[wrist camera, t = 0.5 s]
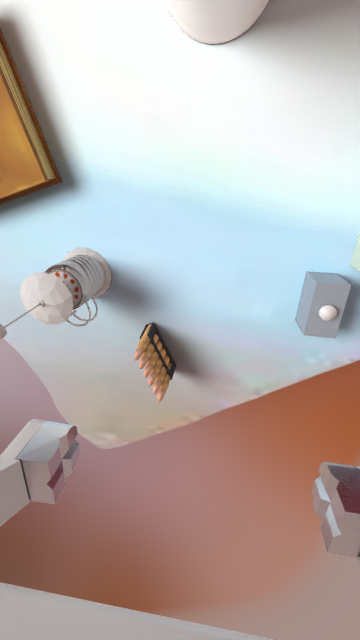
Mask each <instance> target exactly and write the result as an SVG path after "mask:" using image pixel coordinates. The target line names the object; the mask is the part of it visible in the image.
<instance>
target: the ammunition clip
mask: <svg viewBox="0 0 360 640" xmlns="http://www.w3.org/2000/svg"><path fill="white" fill-rule="evenodd" d="M141 356H142V357H141ZM140 357H141V360H140V363H139V368H140V369H142V368H143V367H144V366H145V365H146V367H145V370H144V377H145V378H146V377H147V376H148V375H149V374H150V376H149V381H148V382H149V386H151V385H152V384H153V383H154V386H153V393H154V394H156V393H157V392H158V390H159V392H158V402H160V401H161V400H162V399H163V397H164V395H165V392H166V390H167V388H168V385H169V381H170V380H172V377H173V374H174V371H175V367H176V365H175V363H174V361H173V359H172V357H171V355H170V353H169V351H168V349H167V347H166V345H165V343H164V341H163V339H162V337H161V335H160V333H159V331H158V329H157V327H156V325H155V323H150V324H148V325H146V326H145V328H144V330H143V332H142V334H141V336H140V342H139V344H138V347H137V350H136V352H135V356H134V359H135V360H138V359H139V358H140ZM150 372H151V373H150ZM170 378H171V379H170ZM154 381H155V382H154Z"/></svg>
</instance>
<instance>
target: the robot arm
mask: <svg viewBox="0 0 360 640" xmlns="http://www.w3.org/2000/svg"><path fill="white" fill-rule="evenodd" d="M269 1H270V0H164V2H165V4H166V7H167V9H168V11H169V13H170V15H171V17H172V18H173V20H174V22H175V23H176V24H177V26H178V27H179V28H180V29H181V30H182V31H183V32H184V33H185V34H187V35H188V36H189V37H191V38H193V39H195V40H197V41H200V42H203V43H208V44H217V43H223V42H227V41H230V40H232V39H234V38H236V37H238V36H239V35H241V34H242V33H244V32H245V31H246V30H247V29H249V28H250V27H251V26H252V25H253V24H254V22H255V21H256V20H257V19H258V18H259V16H260V15H261V13H262V12H263V10H264V9H265V7H266V5H267V4H268V2H269ZM77 434H78V433H77V427H76V426H73V425H67V424H62V423H56V422H50V421H43V420H37V419H33V420H31V421H29V422H28V423H27V425H26V426H25V427H24V428H23V429H22V430H21V432H20V433H19V434H18V435H17V436H16V438H15V439H14V440H13V441H12V443H11V444H10V445H9V446H8V447H7V448H6V450H5V451H4V452H3V453H2V454H1V455H0V526H1V525H2V524H3V523H5V522H6V521H7V520H8V519H10V518H11V517H12V516H13V515H15V514H16V513H17V512H18V511H19V510H21V509H22V508H23V507H24V506H26V505H27V504H28V503H29V500H30V501H38V502H44V503H51V504H56V501H57V500H58V498H59V496H60V494H61V492H62V491H63V489H64V487H65V485H66V484H65V477H66V476H68V475H70V474H71V473H72V472H73V470H74V468H75V466H76V463H77V460H78V456H79V443H78V442H77V441H76V440H75V438H76V436H77ZM319 473H320V476H321V477H319V478H317V479H316V480H315V482H314V485H313V503H314V507H315V511H316V513H317V514H318V515H319V517H320V518H321V519H322V520H323V522H322V525H321V527H320V529H321V532H322V536H323V539H324V542H325V545H326V549H327V552H331V553H335V554H340V555H345V556H350V557H355V558H359V559H358V560H359V562H360V467H356V466H350V465H343V464H335V463H328V462H323V463H322V464H321V465H320V468H319ZM0 640H275V639H270V638H266V637H261V636H255V635H251V634H246V633H241V632H236V631H232V630H227V629H222V628H217V627H212V626H207V625H203V624H198V623H193V622H188V621H184V620H179V619H174V618H169V617H164V616H159V615H154V614H150V613H145V612H140V611H135V610H131V609H125V608H121V607H116V606H111V605H106V604H101V603H96V602H91V601H87V600H82V599H77V598H73V597H67V596H63V595H58V594H53V593H48V592H43V591H38V590H34V589H29V588H24V587H19V586H15V585H10V584H5V583H0Z"/></svg>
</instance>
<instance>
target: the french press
mask: <svg viewBox="0 0 360 640" xmlns="http://www.w3.org/2000/svg"><path fill="white" fill-rule="evenodd" d="M111 280H112V278H111V271H110V268H109V266H108V264H107V262H106V260H105V259H104V258H103V257H102V256H101V255H100V254H99V253H97V252H96V251H93V250H91V249H88V248H76V249H74V250H72V251H70V252H68V253H67V255H66V256H65V258H64V259H63V261H62V262H60V263H58V264H55V265H53V266H52V267H50V268H48V270H47V271H46V272H44V273H34V274H32V275H30V276H28V277H26V279H25V280H24V281H23V283H22V284H21V290H20V295H21V299H22V303H23V305H24V307H25V308H26V310H27V312H25V313H24V314H22V315H21V316H19V317H18V318H16V319H15V320H13V321H12V322H10V323H8V324H7V325H5V326H2V325H1V324H0V339H1V338H3V337H5V336H6V333H7V332H6V329H5V327H7V326H9V325H10V324H12V323H13V322H15V321H16V320H18V319H19V318H21V317H22V316H24V315H25V314H27V313H29V314H30V315H32V316H33V317H34V318H35V319H36V320H38V321H40V322H43V323H45V324H54V325H57V324H60V323H62V322H65V321H67V322H69V323H70V324H72V325H75V326H85V325H86V324H87V323H88V322H89V321H91V320H93V319H94V318H95V317H96V316H97V311H98V308H97V304H96V302H95V300H94V298H97V297H100V296H102V295H104V293H105V292H106V291H107V290H108V289H109V287H110V283H111ZM91 298H92V299H93V301H94V304H95V306H96V314H95V316H94V317H93V318H92V319H90V317H91V312H90V308H89V306H88V304H87V301H89V300H90V299H91ZM85 302H86V305H87V308H88V310H89V319H88V320H85V319H81V318H79V317H78V316H76V315H75V313H76V310H75V311H73V312H72V310H73V309H76V308H78V307H80V306H81V305H82V304H83V303H85ZM72 314H73V315H74V316H75V317H76V318H78V319H79V320H82V321H87V322H86V323H85V324H82V325H77V324H73V323H71V322H70V321H68V318H69V317H70V316H71V315H72Z"/></svg>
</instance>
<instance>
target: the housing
mask: <svg viewBox="0 0 360 640" xmlns="http://www.w3.org/2000/svg"><path fill="white" fill-rule="evenodd" d="M350 288H351V284H350V283H349V282H347V281H346V280H345V279H344V278H342V277H341V276H340V275H338V274H333V273H320V272H308V271H307V272H306V276H305V280H304V285H303V289H302V293H301V297H300V302H299V306H298V310H297V315H296V319H295V320H296V322H297V324H298V326H299V328H300V330H301V332H302V333H303V335H308V336H318V337H328V338H336V335H337V331H338V328H339V325H340V321H341V318H342V315H343V312H344V308H345V305H346V302H347V298H348V295H349V292H350Z"/></svg>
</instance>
